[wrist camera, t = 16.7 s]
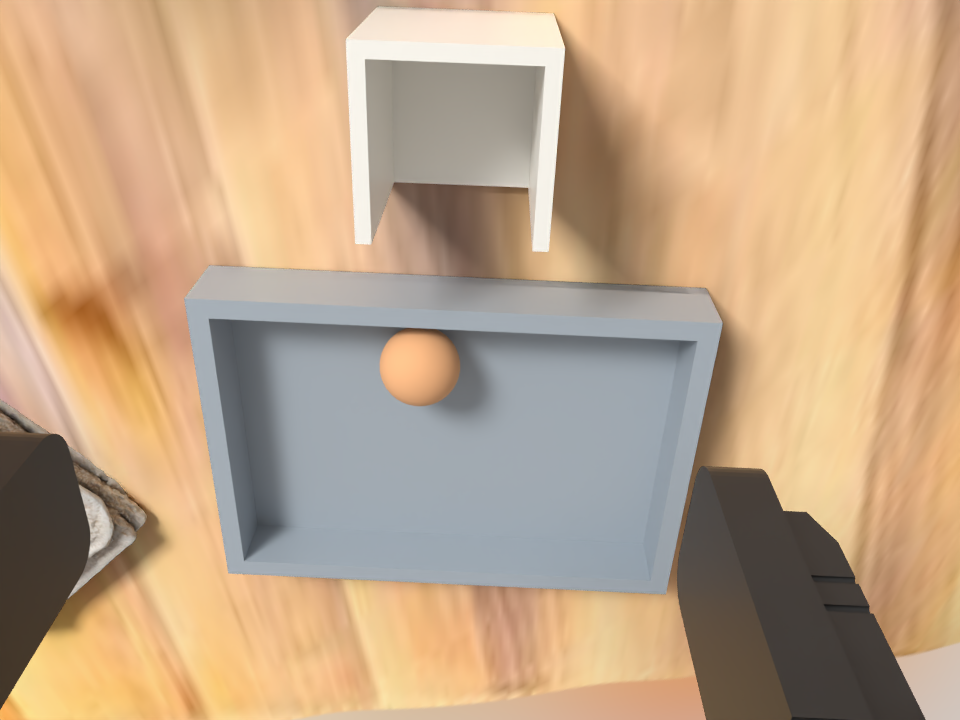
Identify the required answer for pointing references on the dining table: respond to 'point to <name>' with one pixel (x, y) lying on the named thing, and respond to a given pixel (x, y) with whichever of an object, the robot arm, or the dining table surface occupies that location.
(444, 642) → the dining table surface
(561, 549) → the tray
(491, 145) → the white cube stool
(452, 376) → the ball
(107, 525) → the washcloth
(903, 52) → the dining table surface
